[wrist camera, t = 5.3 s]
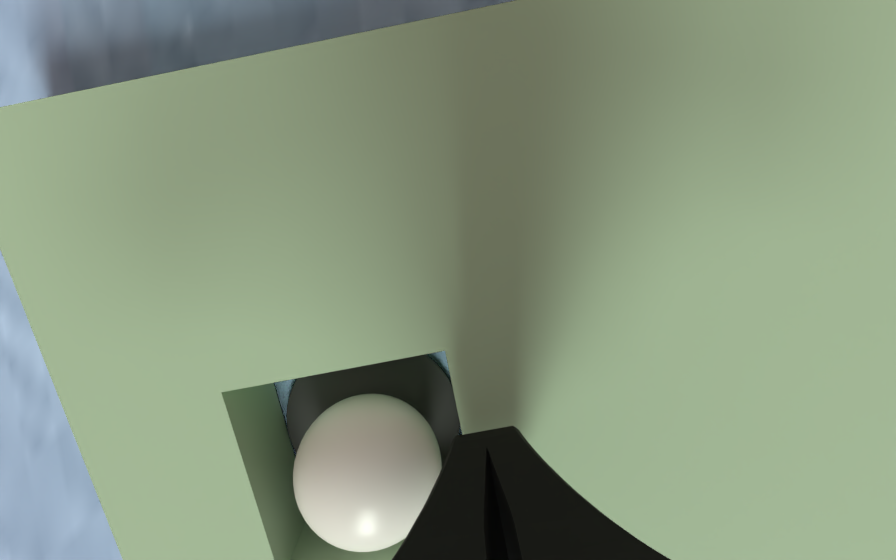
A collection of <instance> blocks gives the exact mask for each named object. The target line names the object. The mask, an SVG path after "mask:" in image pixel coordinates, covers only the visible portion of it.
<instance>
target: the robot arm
mask: <svg viewBox="0 0 896 560" xmlns="http://www.w3.org/2000/svg"><path fill="white" fill-rule="evenodd" d="M392 560H671V559H669V558H667V557H666V556H664V555H662V554H661V553H659V552H657V551H656V550H654V549H652V548H651V547H649V546H648V545H646V544H645V543H643V542H642V541H640V540H639V539H637V538H636V537H634V536H633V535H632V534H630V533H629V532H627V531H626V530H624V529H623V528H622V527H620V526H619V525H617V524H616V523H615V522H613V521H612V520H611V519H609V518H608V517H607V516H606V515H604V514H603V513H602V512H600V511H599V510H598V509H597V508H595V507H594V506H593V505H592V504H591V503H589V502H588V501H587V500H586V499H585V498H584V497H582V496H581V495H580V494H579V493H578V492H577V491H575V490H574V489H573V488H572V487H571V486H570V485H569V484H568V483H567V482H566V481H565V480H564V479H562V478H561V477H560V476H559V475H558V474H557V473H556V472H555V471H554V470H553V469H552V468H551V467H550V466H549V465H548V464H547V463H546V462H545V461H544V460H543V459H542V457H541V456H540V455H539V454H538V453H537V452H536V451H535V450H534V449H533V447H532V446H531V445H530V444H529V443H528V441H527V440H526V439H525V438H524V436H523V435H522V433H521V432H520V430H519V429H517V428H516V427H514V426H508V427H502V428H497V429H491V430H486V431H480V432H475V433H469V434H464V435H458V436H455V438H454V439H453V440H452V442H451V445H450V448H449V451H448V454H447V457H446V459H445V462H444V464H443V467H442V469H441V471H440V474H439V476H438V478H437V480H436V482H435V484H434V486H433V489H432V491H431V493H430V495H429V497H428V499H427V501H426V503H425V505H424V507H423V508H422V510H421V512H420V514H419V516H418V517H417V519H416V521H415V523H414V524H413V526H412V528H411V530H410V531H409V533H408V535H407V537H406V538H405V540H404V541H403V543H402V545H401V546H400V548H399V549H398V551H397V552H396V554H395V555H394V557H393V558H392Z"/></svg>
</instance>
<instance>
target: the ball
mask: <svg viewBox="0 0 896 560" xmlns="http://www.w3.org/2000/svg"><path fill="white" fill-rule="evenodd" d="M441 469H442V462H441V454H440V449H439V445H438V442H437V439H436V437H435V434H434V432H433V430H432V428H431V427H430V425H429V424H428V422H427V421H426V420H425V418H424V417H423V416H422V415H421V414H420V413H419V412H418V411H417V410H416V409H415V408H413V407H412V406H410V405H409V404H408V403H406V402H404V401H402V400H400V399H398V398H395V397H392V396H388V395H383V394H361V395H356V396H352V397H349V398H346V399H343V400H341V401H339V402H337V403H335V404H334V405H332V406H331V407H329V408H328V409H326V410H325V411H324V412H323V413H322V414H321V415H319V417H318V418H317V419H316V420H315V421H314V422H313V423H312V424H311V426H310V427H309V429H308V430H307V431H306V433H305V435H304V437H303V439H302V440H301V443H300V445H299V448H298V450H297V454H296V458H295V461H294V469H293V487H294V494H295V499H296V502H297V505H298V508H299V510H300V512H301V514H302V516H303V518H304V520H305V521H306V523H307V524H308V525H309V527H310V528H311V529H312V530H313V531H314V532H315V533H316V534H317V535H318V536H319V537H320V538H322V539H323V540H325V541H326V542H327V543H329V544H331V545H333V546H335V547H338V548H341V549H344V550H347V551H354V552H371V551H378V550H381V549H385V548H388V547H390V546H392V545H394V544H397V543H398V542H400V541H402V540H403V539H405V538H406V537H407V535H408V533H409V531H410V530H411V528H412V526H413V524H414V523H415V521H416V519H417V517H418V516H419V514H420V512H421V510H422V508H423V507H424V505H425V503H426V501H427V499H428V497H429V495H430V493H431V491H432V489H433V486H434V484H435V482H436V480H437V478H438V476H439V474H440V471H441Z"/></svg>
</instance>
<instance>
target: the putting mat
mask: <svg viewBox="0 0 896 560" xmlns="http://www.w3.org/2000/svg"><path fill="white" fill-rule="evenodd" d="M0 250H1V252H2V255H3V257H4V260H5V262H6V265H7V267H8V270H9V272H10V275H11V277H12V280H13V282H14V285H15V288H16V290H17V293H18V295H19V298H20V300H21V303H22V305H23V308H24V310H25V313H26V315H27V318H28V320H29V323H30V326H31V328H32V331H33V333H34V336H35V338H36V341H37V343H38V346H39V348H40V351H41V353H42V356H43V358H44V361H45V363H46V366H47V369H48V371H49V374H50V376H51V379H52V381H53V384H54V386H55V389H56V391H57V394H58V396H59V399H60V401H61V404H62V407H63V409H64V412H65V414H66V417H67V419H68V422H69V424H70V427H71V429H72V432H73V434H74V437H75V439H76V442H77V444H78V447H79V450H80V452H81V455H82V457H83V460H84V462H85V465H86V467H87V470H88V472H89V475H90V477H91V480H92V482H93V485H94V488H95V490H96V493H97V495H98V498H99V500H100V503H101V505H102V508H103V510H104V513H105V515H106V518H107V520H108V523H109V526H110V528H111V531H112V533H113V536H114V538H115V541H116V543H117V546H118V548H119V551H120V553H121V556H122V558H123V560H392V558H393V557H394V555H395V554H396V552H397V551H398V549H399V548H400V546H401V545H402V543H403V541H404V540H405V539H403V540H402V541H400V542H398V543H397V544H394V545H392V546H390V547H388V548H385V549H381V550H378V551H371V552H354V551H347V550H344V549H341V548H338V547H335V546H333V545H331V544H329V543H327V542H326V541H325V540H323V539H322V538H320V537H319V536H318V535H317V534H316V533H315V532H314V531H313V530H312V529H311V528H310V527H309V525H308V524H307V523H306V521H305V520H304V518H303V516H302V514H301V512H300V510H299V508H298V505H297V502H296V499H295V494H294V487H293V469H294V461H295V455H294V452H293V448H294V450H295V451H296V453H297V450H298V448H299V445H300V443H301V440H302V439H303V437H304V435H305V433H306V431H307V430H308V429H309V427H310V426H311V424H312V423H313V422H314V421H315V420H316V419H317V418H318V417H319V415H321V414H322V413H323V412H324V411H325V410H326V409H328V408H329V407H331V406H332V405H334V404H335V403H337V402H339V401H341V400H343V399H346V398H349V397H352V396H356V395H361V394H383V395H388V396H392V397H395V398H398V399H400V400H402V401H404V402H406V403H408V404H409V405H410V406H412V407H413V408H415V409H416V410H417V411H418V412H419V413H420V414H421V415H422V416H423V417H424V418H425V420H426V421H427V422H428V424H429V425H430V427H431V428H432V430H433V432H434V434H435V437H436V439H437V442H438V445H439V449H440V454H441V462H442V467H443V464H444V462H445V459H446V457H447V454H448V451H449V448H450V445H451V442H452V440H453V439H454V438H455V436H458V434H459V428H460V426H461V431H462V435H464V434H469V433H475V432H480V431H486V430H491V429H497V428H502V427H508V426H514V427H516V428H517V429H519V430H520V432H521V433H522V435H523V436H524V438H525V439H526V440H527V441H528V443H529V444H530V445H531V446H532V447H533V449H534V450H535V451H536V452H537V453H538V454H539V455H540V456H541V457H542V459H543V460H544V461H545V462H546V463H547V464H548V465H549V466H550V467H551V468H552V469H553V470H554V471H555V472H556V473H557V474H558V475H559V476H560V477H561V478H562V479H564V480H565V481H566V482H567V483H568V484H569V485H570V486H571V487H572V488H573V489H574V490H575V491H577V492H578V493H579V494H580V495H581V496H582V497H584V498H585V499H586V500H587V501H588V502H589V503H591V504H592V505H593V506H594V507H595V508H597V509H598V510H599V511H600V512H602V513H603V514H604V515H606V516H607V517H608V518H609V519H611V520H612V521H613V522H615V523H616V524H617V525H619V526H620V527H622V528H623V529H624V530H626V531H627V532H629V533H630V534H632V535H633V536H634V537H636V538H637V539H639V540H640V541H642V542H643V543H645V544H646V545H648V546H649V547H651V548H652V549H654V550H656V551H657V552H659V553H661V554H662V555H664V556H666V557H667V558H669V559H671V560H896V0H515V1H511V2H506V3H501V4H496V5H491V6H486V7H482V8H477V9H472V10H467V11H462V12H457V13H453V14H448V15H443V16H438V17H433V18H429V19H424V20H419V21H414V22H409V23H404V24H400V25H395V26H390V27H385V28H380V29H376V30H371V31H366V32H361V33H356V34H351V35H347V36H342V37H337V38H332V39H327V40H322V41H318V42H313V43H308V44H303V45H298V46H294V47H289V48H284V49H279V50H274V51H269V52H265V53H260V54H255V55H250V56H245V57H240V58H236V59H231V60H226V61H221V62H216V63H212V64H207V65H202V66H197V67H192V68H187V69H183V70H178V71H173V72H168V73H163V74H159V75H154V76H149V77H144V78H139V79H134V80H130V81H125V82H120V83H115V84H110V85H105V86H101V87H96V88H91V89H86V90H81V91H77V92H72V93H67V94H62V95H57V96H52V97H48V98H43V99H38V100H33V101H28V102H24V103H19V104H14V105H9V106H4V107H0ZM440 351H445V352H446V357H447V362H448V367H449V372H450V377H451V382H452V384H451V382H450V380H449V379H448V377H447V375H446V374H445V372H444V371H443V370H442V369H441V368H440V366H439V365H438V364H437V363H436V362H435V361H434V360H433V359H431V358H430V357H429V356H428V355H426V354H430V353H435V352H440ZM296 378H297V380H296V382H295V384H294V386H293V388H292V391H291V393H290V396H289V401H288V405H287V427H286V424H285V421H284V417H283V414H282V410H281V407H280V403H279V400H278V396H277V393H276V389H275V386H274V382H280V381H285V380H290V379H296ZM287 428H288V431H287ZM288 432H289V434H288ZM289 437H290V438H289ZM290 440H291V441H290ZM291 443H292V445H293V448H292V445H291Z"/></svg>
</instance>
